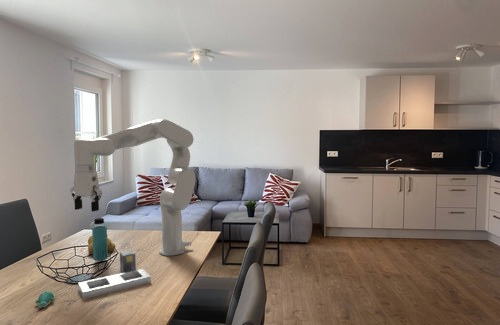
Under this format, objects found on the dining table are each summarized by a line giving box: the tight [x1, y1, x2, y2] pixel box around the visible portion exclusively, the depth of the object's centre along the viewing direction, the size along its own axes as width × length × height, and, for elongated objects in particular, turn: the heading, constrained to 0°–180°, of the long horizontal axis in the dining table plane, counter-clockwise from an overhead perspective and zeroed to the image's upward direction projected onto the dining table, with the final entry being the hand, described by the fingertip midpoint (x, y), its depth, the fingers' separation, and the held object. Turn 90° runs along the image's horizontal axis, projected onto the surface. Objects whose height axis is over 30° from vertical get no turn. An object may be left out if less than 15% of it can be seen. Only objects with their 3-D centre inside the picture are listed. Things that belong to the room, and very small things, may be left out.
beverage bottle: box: [91, 217, 109, 262], centre depth 156 cm, size 6×7×20 cm
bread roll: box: [87, 235, 116, 255], centre depth 169 cm, size 13×10×8 cm
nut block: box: [119, 249, 137, 273], centre depth 144 cm, size 5×5×8 cm
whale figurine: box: [34, 290, 56, 308], centre depth 116 cm, size 6×7×4 cm
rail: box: [77, 268, 152, 300], centre depth 130 cm, size 24×10×2 cm, turn 125°
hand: (86, 209), depth 142 cm, fingers open, 9 cm apart
